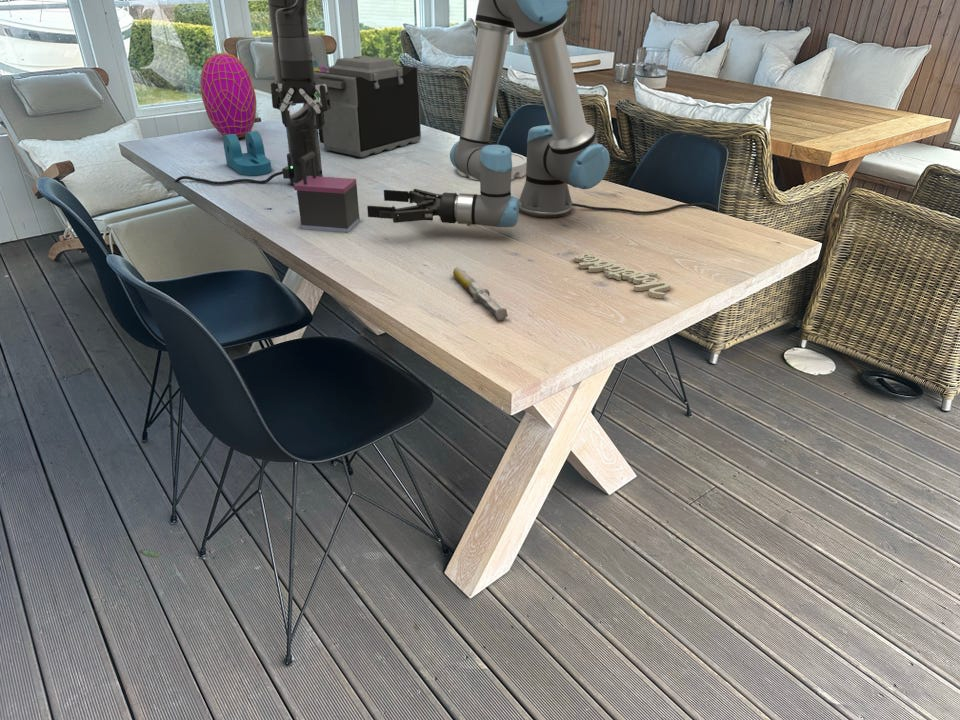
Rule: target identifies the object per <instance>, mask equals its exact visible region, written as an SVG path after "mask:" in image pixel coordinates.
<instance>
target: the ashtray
mask: <svg viewBox="0 0 960 720" xmlns="http://www.w3.org/2000/svg"><path fill="white" fill-rule="evenodd" d="M511 155H512V172H511V181H512V180H515V178H516V179H517V178H519V179H520V178H523V177H524V176H526V164H527V156H524V155H522V154H519V153H516V152H511ZM456 170H457V174H458V175H460V176H461V177H464V178H465V177H467V178H468V179H470V180H473V181H474V180H475V181H479V180H478V179H476V178H474V177H472V176H470V175H468V174H465V173H463V172H461V171H459V170H458V169H457V168H456Z"/></svg>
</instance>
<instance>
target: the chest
mask: <svg viewBox="0 0 960 720" xmlns="http://www.w3.org/2000/svg"><path fill="white" fill-rule="evenodd" d="M357 184H358V183H357ZM357 184H355V185H354V186H353V187H352V188H351V189H349V190H348V191H347V192H346V193H344V194H340V193H326V192H311V191H297V190H296V194H297V195H296V196H297V203H298V211H299V218H300V227H301V228H300V229H301V230H312V231H313V230H315V231H324V232H325V231H327V232H341V233H349V232H350V231H351V230H352V229H353V228H354V227H356V225H357V224H358V223H360V221H361V220H360V210H359V209H360V208H359V207H360V206H359V199H358V198H359V195H358V185H357Z"/></svg>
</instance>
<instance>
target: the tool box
mask: <svg viewBox="0 0 960 720" xmlns="http://www.w3.org/2000/svg"><path fill="white" fill-rule="evenodd" d="M328 69H329V70H328V71H326V72H321V71H314V81H315V84H316V85H322V84H327V85H328V90H329V97H330V104H331V109H329V110H327V111H325V112H324V120H325V125H324V126H323V128H322V129H318V137H319V144H323V146H324V149H325V150H327V151H330V152H335V153H340V154H344V155H348V156H353V157H357V158H362V159H363V158H366V157H367V158H368V157H369V155H371V154H375V155H377V154H381V153H382V152H383V151H391V150H395V149H396V148H397V147H405V146H407V145H408V144H416V143H418V142H419V141H421V137H422V128H421V97H420V92H419V91H420V89H419V68H418V67H417V66H408V65H400V64H396V62H395V60H394V59H393V58H385V57H377V56H367V55H356V56H353V57H350V58H349V57H343V58H342V57H341V58H337V59H336V60H335V63H334V64H333V65H330V66H329V67H328ZM315 93H317V94H318V96H319V102H320V103H321V105H322V101H321V95H320V94H319V93H318V91H317V90H316V92H315Z"/></svg>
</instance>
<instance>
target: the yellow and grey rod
mask: <svg viewBox="0 0 960 720" xmlns="http://www.w3.org/2000/svg"><path fill="white" fill-rule="evenodd" d="M452 274H453V277H454V279H455V280H457V281H458V282H459V283H460V285H462V287H464V289H466V290H467V291H468V293H470V295H471V296H472V298H473V300H474V302H477V303H478V302H480V303H482V304H483V305H484V306H485V307H486V308H487V309H488V310H489V311H490V312H491V313H492V314H493V315H494V316H495V317H496V320H497V321H503V320H504V319H506V318H507V317H509V314H508V310H507V308H506V307H502V306H501V305H500V303H498V302H497V301H496V300H494V299H493V298H492V297H491V296H490V295H491V293H490V290H488V289H486V288H483V287H482V286H481V285H480V284H479V283H478V282H477V281H476V280H474V278H473V277H471V275H469V274H468V273H467V272H466V270H465V269H464V268H463V267H462V266H456V267H454V268H453V271H452Z"/></svg>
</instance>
